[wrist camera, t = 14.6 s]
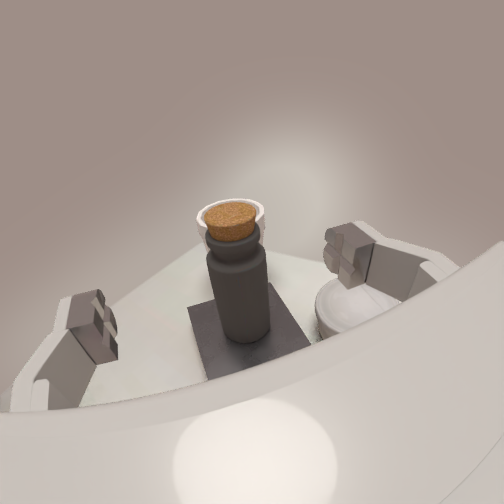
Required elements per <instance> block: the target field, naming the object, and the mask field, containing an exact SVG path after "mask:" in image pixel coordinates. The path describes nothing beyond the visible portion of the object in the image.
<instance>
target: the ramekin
mask: <svg viewBox="0 0 504 504" xmlns="http://www.w3.org/2000/svg"><path fill="white" fill-rule="evenodd" d="M398 304H399V301H398V300H397V299H395V298H393V297H391V296H389V295H387V294H385V293H383V292H381V291H378V290H376V289H374V288H372V287H370V286H368V285H366V283H365V284H362V285H360V286H357V287H354V288H351V289H349V290H347V289H346V287H345V286H344V285H343V284H342V283H341V282H340V281H339V280H338V278H336V279H334V280H332V281H330V282H328V283H327V284H325V285H324V286H323V287H322V288H321V289H320V291H319V292H318V294H317V296H316V300H315V313H316V316H317V319H318V327H319V331H320V334H321V336H322V338H323V340H325V339H327V338H330V337H332V336H334V335H336V334H339V333H341V332H343V331H345V330H348V329H350V328H352V327H354V326H356V325H358V324H360V323H362V322H365V321H367V320H369V319H371V318H373V317H375V316H377V315H379V314H381V313H383V312H385V311H387V310H389V309H391V308H393V307H394V306H396V305H398Z"/></svg>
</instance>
